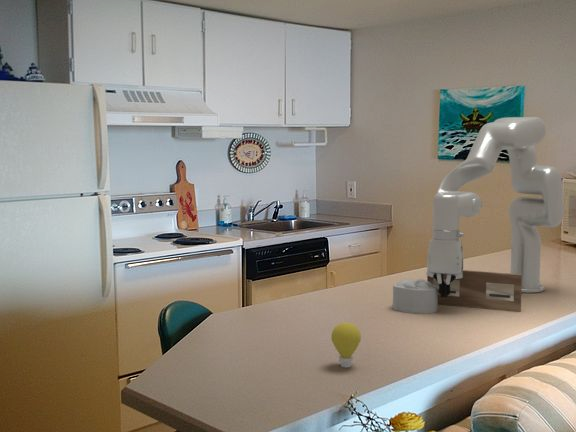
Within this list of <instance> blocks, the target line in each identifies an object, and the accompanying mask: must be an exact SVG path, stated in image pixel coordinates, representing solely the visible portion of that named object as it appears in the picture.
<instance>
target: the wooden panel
mask: <svg viewBox="0 0 576 432" xmlns="http://www.w3.org/2000/svg"><path fill="white" fill-rule="evenodd" d="M462 272H463V278H460V279H455V280H453V281H452V282H451V283H450V294H449V295H448V296H447V298H444V297H443V298H442V297H441V294H439V284H438V282H437V281H436V280H435V279H434V278H433V277H430V276H427V275H426V278H427V279H426V281H428V282H430V283H431V284H432V285H435V286H436V287H437V288H438V304H437V305H444V306H454V307H465V308H466V307H467V308H477V309H487V310H498V311H499V310H500V311H509V312H510V311H511V312H519V313H521V311H522V292H521V290H522V274H510V273H508V272H496V271H495V272H494V271H480V270H465V269H463V271H462ZM446 278H447V274H443V280H444V282H446Z"/></svg>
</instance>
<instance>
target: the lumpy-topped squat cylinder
mask: <svg viewBox="0 0 576 432" xmlns="http://www.w3.org/2000/svg"><path fill="white" fill-rule="evenodd" d="M438 305H439V304H438V288H437V287H436V286H435V285H432V284H431V283H430V282H428V281H427V280H425V279H424V278H418V279H416V280H414V279H412V278H405V279H403V280H400V281H398V282H397V283H395V284H393V285H392V309H393V311H394V310H395V311H399V312H404V313H411V314H433V313H437V312H438Z"/></svg>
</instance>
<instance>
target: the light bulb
mask: <svg viewBox="0 0 576 432" xmlns="http://www.w3.org/2000/svg"><path fill="white" fill-rule="evenodd" d="M330 337H331V338H330V339H331V342H332V344H333V345H334V348H335V350H336V351H337V353H338V354H339V355H338V362H339V363H340V367H342V368H346V369H347V368H350V367H352V363H354V357H353V354H354V353H355V351H356V350H357V348H358V347H359V345H360V342H361V340H362V337H361V332H360V329H359V328H358V327H357V326H356V325H355V324H353V323H351V322H345V321H344V322H341V323H338V324H337V325H336V326H335V327H334V328H333V329H332V332H331V336H330Z"/></svg>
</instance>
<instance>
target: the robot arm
mask: <svg viewBox="0 0 576 432" xmlns="http://www.w3.org/2000/svg"><path fill="white" fill-rule="evenodd" d="M546 133H547V125H546V123H545V121H544V120H543V119H542V118H540V117H538V116H522V117H521V116H517V117H516V116H515V117H514V116H512V117H510V116H509V117H501V118H497V119H495V120H494V121H493V122H488V123H485V124H484V125H482V127H481V128H480V130H479V131H478V134H477V136H476V138H475V139H474V142H473V144H472V147H471V149H470V150H469V153H468V155H467V157H466V159H465V160H464V161H462V162H461V163H459V164H458V165H457V166H456V167H454V168H453V169H452V170H450V172H449V173H447V174H446V175H445V176H444V177H443V179H442V180H441V182H440V184H439V186H438V188H437V191H436V193H435V195H434V196H433V199H432V235H431V237H432V238H430V239H429V244H428V249H427V251H428V252H427V258H426V277H427V276H430V277H433V278H434V279H435V280H436V281H437V282H438V284H439V294H441V297H442V298H443V297H444V298H447V296H448V295H449V294H450V283H451V282H452V281H453V280H455V279H460V278H463V272H462V271H463V270H464V249H463V242H462V239H460V238H461V237H462V238H464V235H465V234H464V231H462V232H461V231H460V227H459V225H460V218H461V217H462V218H464V217H465V218H472V217H474V216H477V215H478V214H479V213H480V212H481V209H482V205H483V202H482V199H481V197H480V196H479V195H478V194H477V193H474V192H471V191H462V190H460V189H461V188H462V187H463V186H464V185H466V184H468V183H469V182H473V181H475V180H478V179H480V178H483V177H485V176H487V175H490V174H491V173H492V172H493V170H494V167H495V165H496V163H497V161H498V159H499V157H500V154H501V153H502V151H503V150H506V151H507V154H508V158H509V168H510V180H511V187H512V189H513V191H515V192H516V193H518V194H525V195H537V196H542V197H537V196H519V197H516V198H514V199H513V200H511V202H510V204H509V207H508V215H509V221H510V226H511V228H510V230H511V231H510V232H511V236H510V237H511V239H510V240H511V243H510V245H511V246H510V274H522V290H521V293H525V294H526V293H530V294H531V293H534V294H535V293H541V292H544V291H545V286H544V285H542V284H540V279H541V278H540V277H541V252H542V251H541V250H542V249H541V248H542V237H541V235H540V232H539V230H538V229H537V227H543V228H544V227H545V228H556V227H558V226H560V225H561V223H562V222H563V219H564V192H563V181H562V175H561V173H560V171H559V170H558V168H556V167H554V166H552V165H539V163H538V160H537V159H538V158H537V151H536V147H535V146H536V145H539V144H540V143H541V142H542V141H543V140H544V139H545V137H546ZM459 190H460V191H459ZM443 274H447V278H446V282H444V280H443Z"/></svg>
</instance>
